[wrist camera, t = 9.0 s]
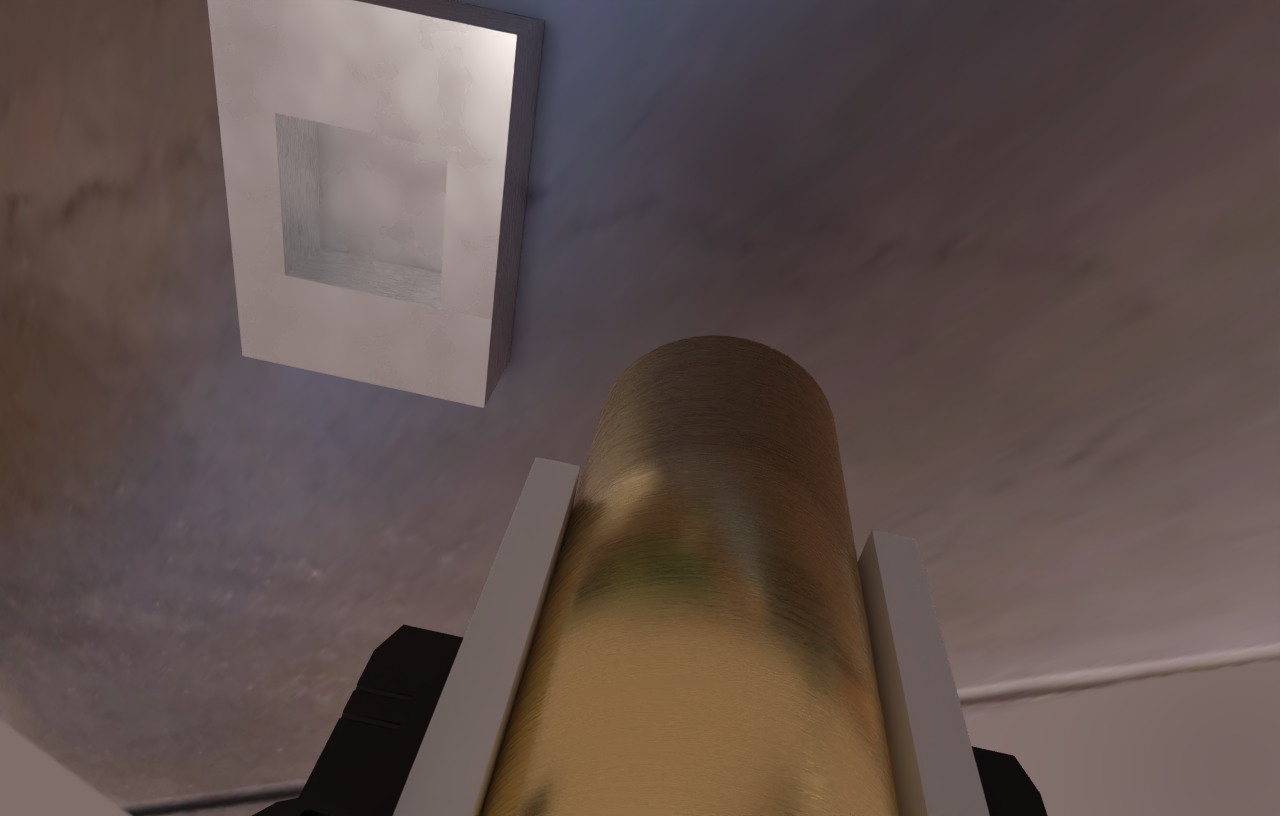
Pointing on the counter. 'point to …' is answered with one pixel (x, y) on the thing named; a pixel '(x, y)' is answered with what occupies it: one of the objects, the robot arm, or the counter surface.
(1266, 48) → the counter surface
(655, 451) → the brass capped cylinder
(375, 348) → the housing
